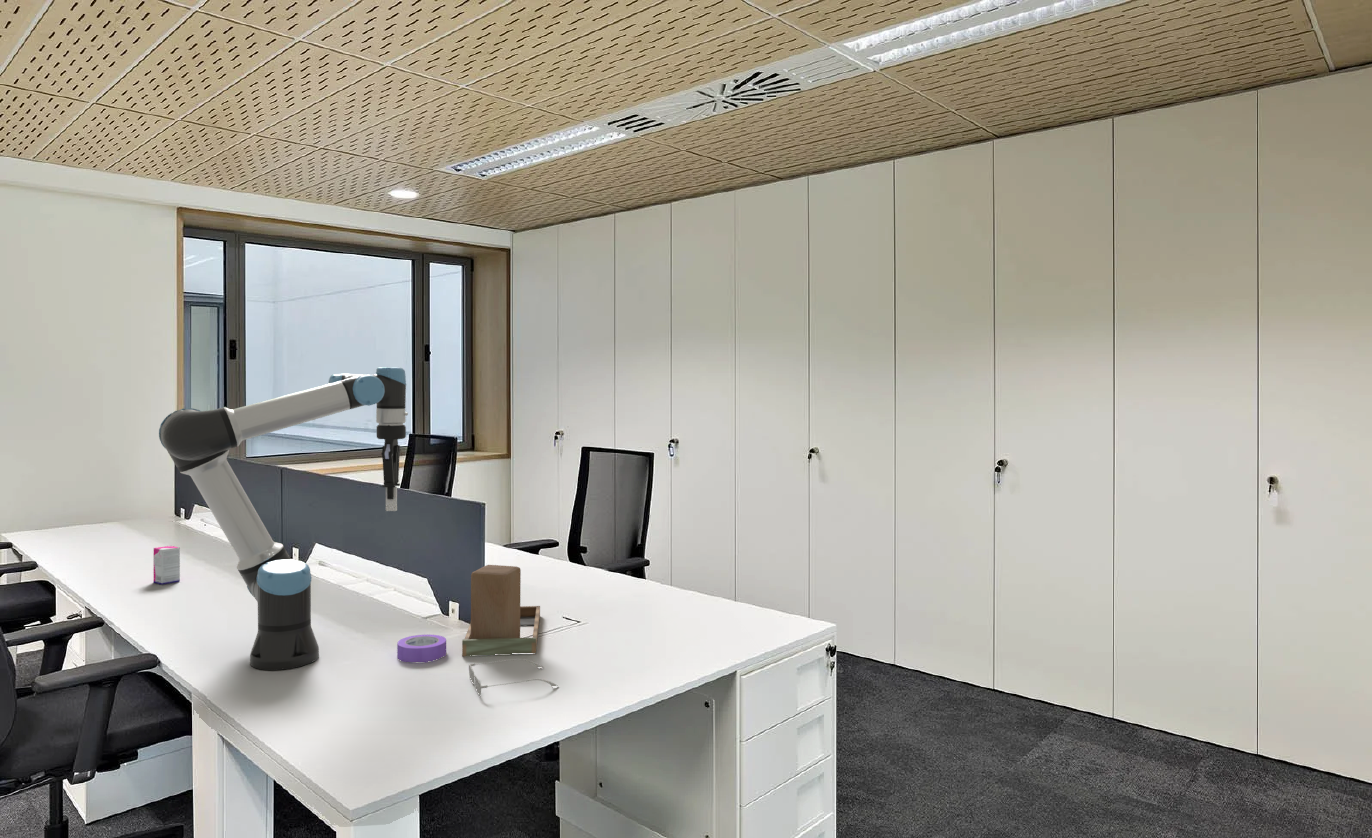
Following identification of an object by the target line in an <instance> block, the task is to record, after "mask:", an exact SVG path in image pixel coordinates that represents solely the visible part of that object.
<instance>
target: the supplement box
mask: <svg viewBox="0 0 1372 838" xmlns="http://www.w3.org/2000/svg"><path fill="white" fill-rule="evenodd" d="M180 551H181V548H180V547H178V546H175V545H174V546H172V545H167V546H158V547H153V584H157V585H161V586H166V585H170V584H176V583H178V582H180V581H181V579H180V577H181V574H180V573H181V568H180V567H181V565H180V564H181V563H180V562H181V552H180Z"/></svg>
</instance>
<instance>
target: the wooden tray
mask: <svg viewBox="0 0 1372 838" xmlns="http://www.w3.org/2000/svg"><path fill="white" fill-rule="evenodd" d="M540 618H541V605H529V606H528V605H524V606H523V605H520V625H534V626H533V632H532V637H520V638H497V639H471V622H469V623H470V624H469V626H468V629H467V631H466V634H465V636H464V638H463V639H462V641H461V643H462V644H461V647H462V648H461V653H462V654H461V656H462V657H473V656H472V655H495V654H512V653H536V654H537V648H536V647H537V646H538V639H537V638H538V637H539V630H538V629H539V628H540V627H539V626H540V621H541V620H540ZM539 620H540V621H539ZM470 655H471V656H470Z"/></svg>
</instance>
